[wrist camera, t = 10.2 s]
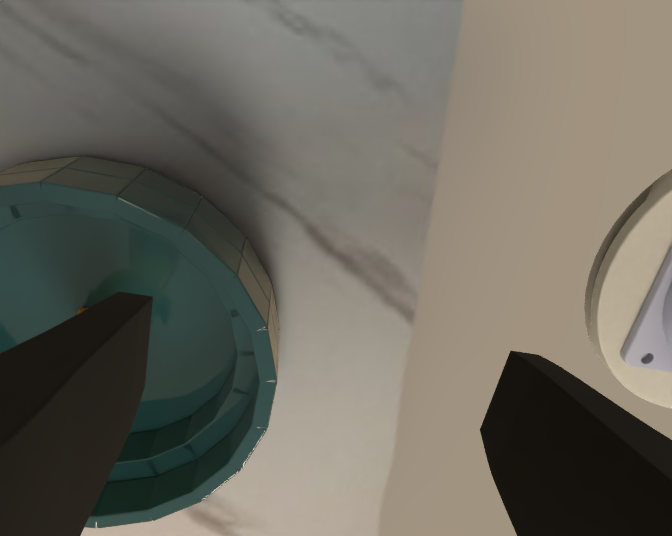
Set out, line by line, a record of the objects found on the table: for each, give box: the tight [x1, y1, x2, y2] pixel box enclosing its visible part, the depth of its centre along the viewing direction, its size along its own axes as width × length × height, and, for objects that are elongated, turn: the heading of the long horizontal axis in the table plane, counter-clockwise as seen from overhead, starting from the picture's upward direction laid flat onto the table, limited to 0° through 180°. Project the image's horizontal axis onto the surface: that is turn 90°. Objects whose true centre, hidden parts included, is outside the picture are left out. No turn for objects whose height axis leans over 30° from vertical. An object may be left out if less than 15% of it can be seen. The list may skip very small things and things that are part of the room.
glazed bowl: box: [0, 156, 280, 528], centre depth 20 cm, size 13×13×4 cm
